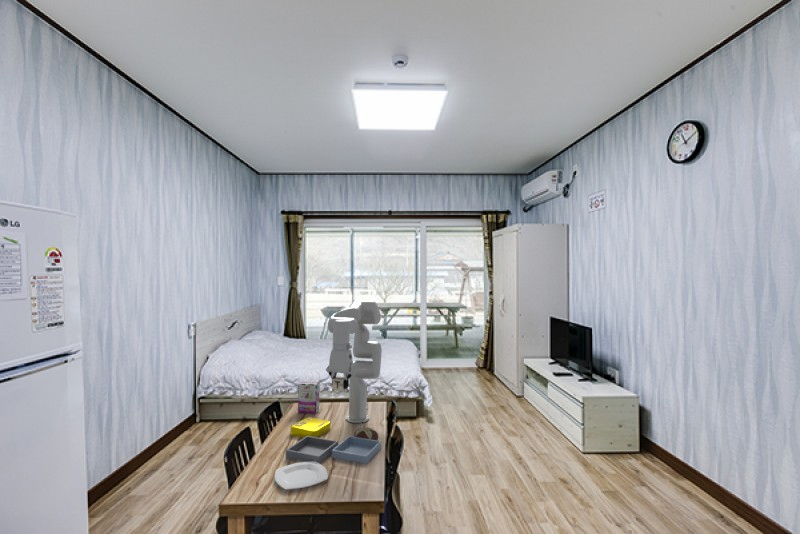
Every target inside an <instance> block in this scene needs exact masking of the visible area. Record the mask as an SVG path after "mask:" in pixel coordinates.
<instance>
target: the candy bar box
mask: <svg viewBox="0 0 800 534" xmlns="http://www.w3.org/2000/svg"><path fill="white" fill-rule="evenodd" d="M297 386H298V387H297V388H298V389H297V390H298V391H297V393H298V397H297V413H298V414H314V415H316V414H317V413H319V412H320V382H313V381H301V382H299V383H298V385H297Z"/></svg>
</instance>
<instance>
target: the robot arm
mask: <svg viewBox="0 0 800 534" xmlns="http://www.w3.org/2000/svg"><path fill="white" fill-rule="evenodd" d="M381 314H382V313H381V311H380V309H379V305H378V304H377V303H376V301H375V300H370V299H369V300H368V299H367V300H365V299H364V300H363V299H362V300H361V299H359V300H354V301H353V302H352V303H350V305H349V306H348V308H345V309H341V310H339V311H337V312H335V313H333V314H332V315H331V316H330V318H329V320H328V321H327V327H326V328H327V330H328V332H329V333H331V334H332V349H331V350H330V355H329V364H328V366H327V367H326V369H325V372H326V373H328V375H329V376H330V379H331V385H332V388H333V379H334V378H336V377H337V374H339V373H340V374H343V377H344V378H345V380H344V389H346V388H349V391H348V392H349V393H348V395H349V397H348V398H349V402H348V415H346V416H345V420H346V422H348V423H353V424H362V422H363V423H366V422H369V420H370V415H369V414H367V412H368V411H369V407H368V406H367V404H368V385H367V383H366V381H365V380H377V379H378V378H379V377H380V375H381V367H382V366H381V365H382V345H381V343H380V342H379V341H375V340H374V341H371V340H370V335H371V334H370V331H369V329H368V327H367V326H366V325H378V324H380V323H381V320H382V315H381ZM353 334H354V337H353V338H354V339H353V346H352V344H351V343H350V338H351V337H350V335H353ZM351 349H352V350H351ZM353 357H354V358H356V359H364V360H353ZM365 359H366V360H365ZM367 359H370V360H367ZM346 390H347V389H346Z"/></svg>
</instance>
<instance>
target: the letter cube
mask: <svg viewBox="0 0 800 534" xmlns="http://www.w3.org/2000/svg"><path fill="white" fill-rule="evenodd" d="M344 380H345V378H344V376H336V378H334V379H333V387H332V389H331V390H332V391H333V392H334V391H336V392H344V391H346V390H348V388H349V387H348V388H346V389H344Z"/></svg>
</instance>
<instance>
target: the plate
mask: <svg viewBox="0 0 800 534" xmlns="http://www.w3.org/2000/svg"><path fill="white" fill-rule="evenodd" d="M327 480H328V470H327V468H326V467H325V466H324V465H323V464H321V463H320V464H319V463H318V462H316V461H309V462H306V461H302V462H296V463H292V464H289V465H285V466H282V467H279V468H277V469H275V472H274V481H275V483H276V484H277V485H278V486H279V487H280V488H282V489H283V490H284V491H285V490H286V491H287V490H297V489H298V490H299V489H304V488H308V487H312V486H314V485H318V484H320V483H323V482H325V481H327Z"/></svg>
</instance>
